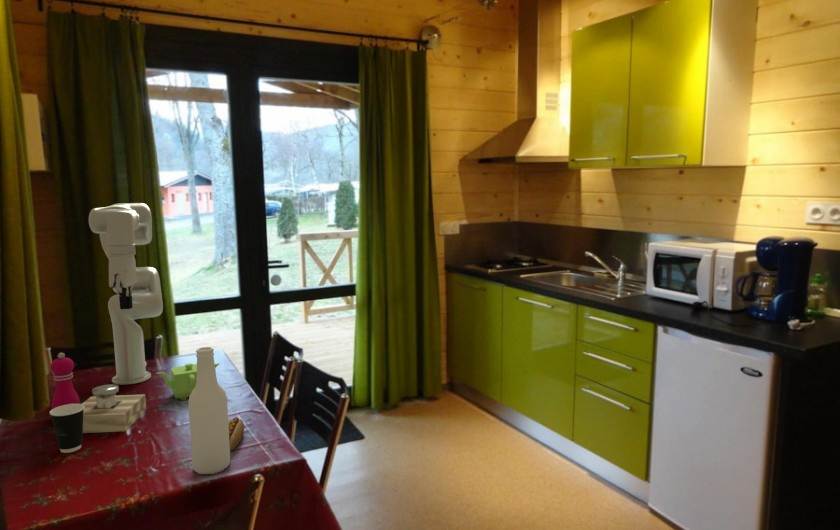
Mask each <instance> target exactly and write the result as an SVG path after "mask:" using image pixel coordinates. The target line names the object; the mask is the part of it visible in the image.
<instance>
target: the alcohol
mask: <svg viewBox="0 0 840 530" xmlns="http://www.w3.org/2000/svg"><path fill="white" fill-rule="evenodd" d="M195 352H196V356H195V358H196V364H197V383H196V387H195V388H194V390H193V391H192V393H191V394H190V396H189V398H188V403H187V404H188V414H189V416H188V417H189V434H190V447H191V448H190V449H191V450H190V451H191V461H192V463H191V464H192V469H193V471H194V472H195V473H196V472H197V473H196V474H198V473H199V475H201V474H211V475H213V474H212V473H216V472H219V471H221V470H223V471H225V470H226V469H228V467H229V466H230V464H231V451H230V444H229V426H228V422H229V413H228V410H229V409H228V396H227V394H226V390H225V389H224V388H223V387H222V386H220V384H219V383H218V382H219V381H218V378H217V372H216V368H215V364H216V363H215V357H214V356H215V353H214V352H215V351H214V348H213V347H211V346H205V347H199V348H196V350H195ZM225 468H226V469H225ZM224 469H225V470H224ZM221 472H222V471H221ZM219 473H220V472H219ZM216 474H217V473H216Z"/></svg>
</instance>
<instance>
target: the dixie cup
mask: <svg viewBox="0 0 840 530" xmlns="http://www.w3.org/2000/svg"><path fill="white" fill-rule="evenodd" d="M84 408H85V406H84V405H83V404H82V403H79V404H67V405H62V406H59V407H56V408H54V409H53V408H52V409H51V410H50V411H49V415H50V416H51V420H52V421H51V422H52V425H53V429H54V433H55V439H56V442H57V447H58V449H59V450H60V452H61V453H63V454H64V453H65V454H66V453H73V452H76V451H78V450H80V449H81V448H82V445H83V438H84V433H83V412H84Z"/></svg>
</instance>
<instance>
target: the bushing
mask: <svg viewBox="0 0 840 530" xmlns="http://www.w3.org/2000/svg"><path fill="white" fill-rule="evenodd" d="M118 392H119V384H114V383H112V384H111V383H110V384H104V385H99V386H96V387H94V388H92V389H91V393H92V397H94V396H96V400H97V409H114V408H115V407H116V396H117V394H116V393H118Z"/></svg>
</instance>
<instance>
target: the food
mask: <svg viewBox="0 0 840 530" xmlns="http://www.w3.org/2000/svg"><path fill="white" fill-rule="evenodd" d="M228 426H229V444H230V452H232V451H233V450H234V449H235V448H236V447H237V446H238V445H239V443H240V441H241V440H242V437H243V435H244V432H245V431H244V430H245V427H244V426H245V425H244V421H243V420H242V419H239V417H236V416H235V417H234V418H232V419H228Z"/></svg>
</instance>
